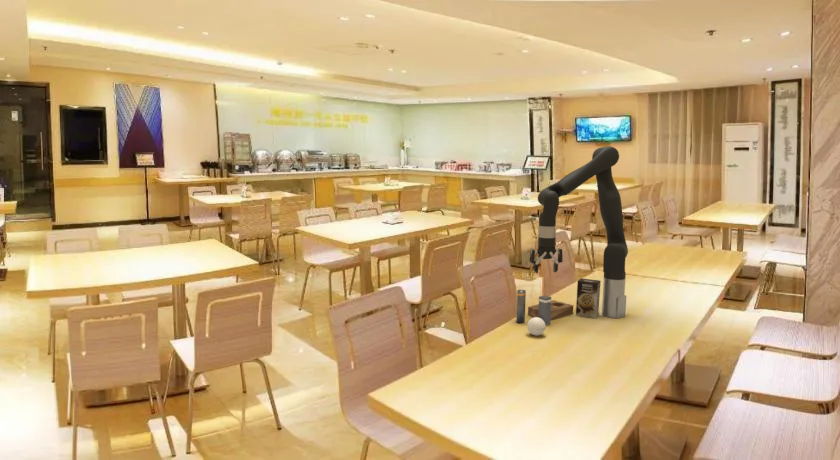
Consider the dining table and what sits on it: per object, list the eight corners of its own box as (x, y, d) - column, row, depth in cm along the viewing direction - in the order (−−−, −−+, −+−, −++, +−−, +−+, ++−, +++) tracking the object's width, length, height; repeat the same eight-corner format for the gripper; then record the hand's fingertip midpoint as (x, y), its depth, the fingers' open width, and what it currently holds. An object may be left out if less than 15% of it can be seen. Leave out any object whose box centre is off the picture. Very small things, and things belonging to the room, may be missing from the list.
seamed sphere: (531, 339, 237) (532, 321, 236) (523, 333, 244) (524, 315, 243) (554, 336, 240) (555, 319, 239) (546, 331, 247) (546, 313, 246)
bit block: (572, 313, 271) (573, 305, 271) (547, 321, 260) (547, 312, 259) (553, 308, 280) (553, 300, 279) (527, 315, 268) (528, 306, 268)
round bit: (526, 322, 259) (527, 290, 256) (520, 324, 256) (521, 292, 254) (520, 320, 261) (521, 289, 259) (514, 322, 259) (515, 290, 257)
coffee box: (575, 315, 268) (576, 280, 266) (578, 312, 274) (580, 277, 271) (596, 318, 264) (597, 283, 262) (599, 315, 270) (600, 279, 267)
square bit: (550, 324, 256) (551, 296, 254) (544, 325, 254) (545, 298, 252) (543, 322, 259) (544, 295, 257) (538, 323, 257) (538, 296, 255)
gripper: (559, 234, 266) (557, 270, 269) (528, 235, 264) (527, 271, 267) (565, 237, 259) (564, 273, 262) (534, 237, 257) (533, 274, 259)
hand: (545, 272), depth 264 cm, fingers open, 8 cm apart
